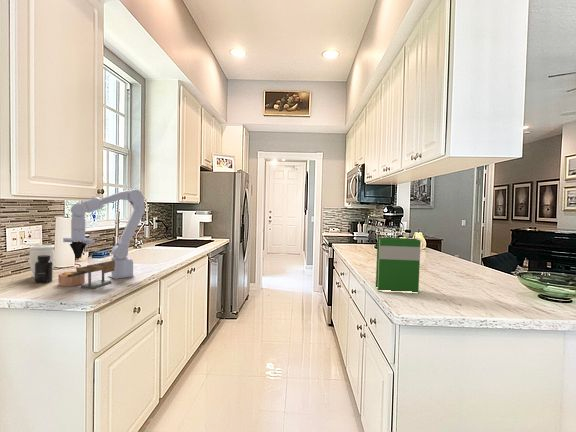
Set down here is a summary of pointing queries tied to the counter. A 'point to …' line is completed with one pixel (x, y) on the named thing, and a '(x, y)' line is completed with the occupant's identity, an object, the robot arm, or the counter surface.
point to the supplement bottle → (43, 269)
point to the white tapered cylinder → (40, 250)
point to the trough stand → (95, 282)
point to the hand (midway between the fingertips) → (78, 258)
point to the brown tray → (95, 268)
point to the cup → (70, 279)
